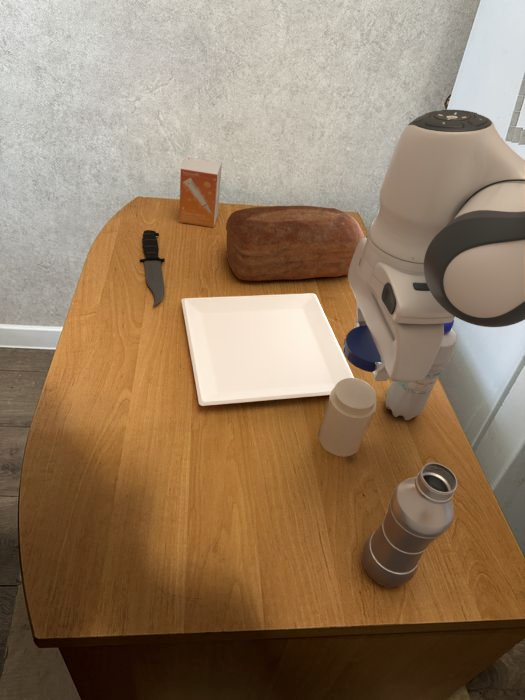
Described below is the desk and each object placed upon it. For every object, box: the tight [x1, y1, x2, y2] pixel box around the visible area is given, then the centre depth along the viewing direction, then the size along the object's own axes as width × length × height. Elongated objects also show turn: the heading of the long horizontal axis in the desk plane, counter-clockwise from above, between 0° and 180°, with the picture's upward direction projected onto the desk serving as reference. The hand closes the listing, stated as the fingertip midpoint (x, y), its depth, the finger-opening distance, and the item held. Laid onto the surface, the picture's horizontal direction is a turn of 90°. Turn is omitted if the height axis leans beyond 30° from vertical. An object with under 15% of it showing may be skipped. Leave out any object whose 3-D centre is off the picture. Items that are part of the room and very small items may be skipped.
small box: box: [178, 156, 223, 229], centre depth 118 cm, size 8×6×13 cm
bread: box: [225, 205, 366, 282], centre depth 109 cm, size 14×28×12 cm, turn 105°
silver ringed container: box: [361, 462, 458, 588], centre depth 59 cm, size 6×7×20 cm
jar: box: [317, 377, 377, 457], centre depth 77 cm, size 7×7×10 cm
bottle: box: [385, 318, 458, 421], centre depth 80 cm, size 7×7×20 cm
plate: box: [180, 292, 355, 407], centre depth 92 cm, size 26×26×2 cm
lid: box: [342, 326, 382, 373], centre depth 67 cm, size 7×7×2 cm
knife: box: [139, 229, 166, 308], centre depth 105 cm, size 25×2×5 cm
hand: (370, 353), depth 68 cm, fingers closed on lid, 7 cm apart
